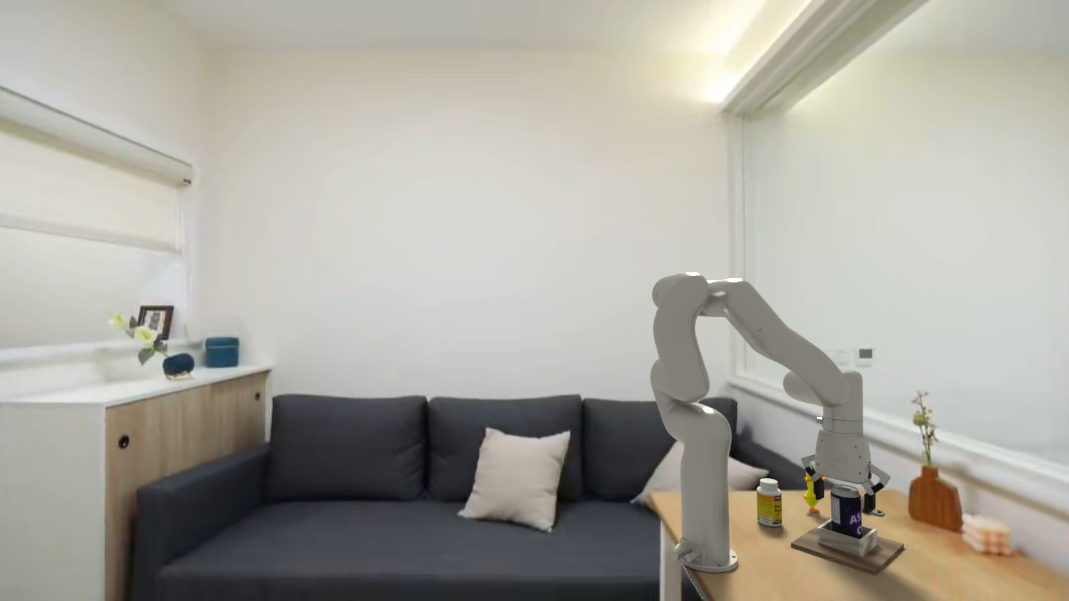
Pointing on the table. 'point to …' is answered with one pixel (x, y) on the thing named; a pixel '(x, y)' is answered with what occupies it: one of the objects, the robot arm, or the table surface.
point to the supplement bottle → (769, 503)
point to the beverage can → (846, 510)
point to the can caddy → (849, 547)
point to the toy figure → (811, 493)
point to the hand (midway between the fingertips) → (843, 505)
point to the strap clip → (874, 512)
